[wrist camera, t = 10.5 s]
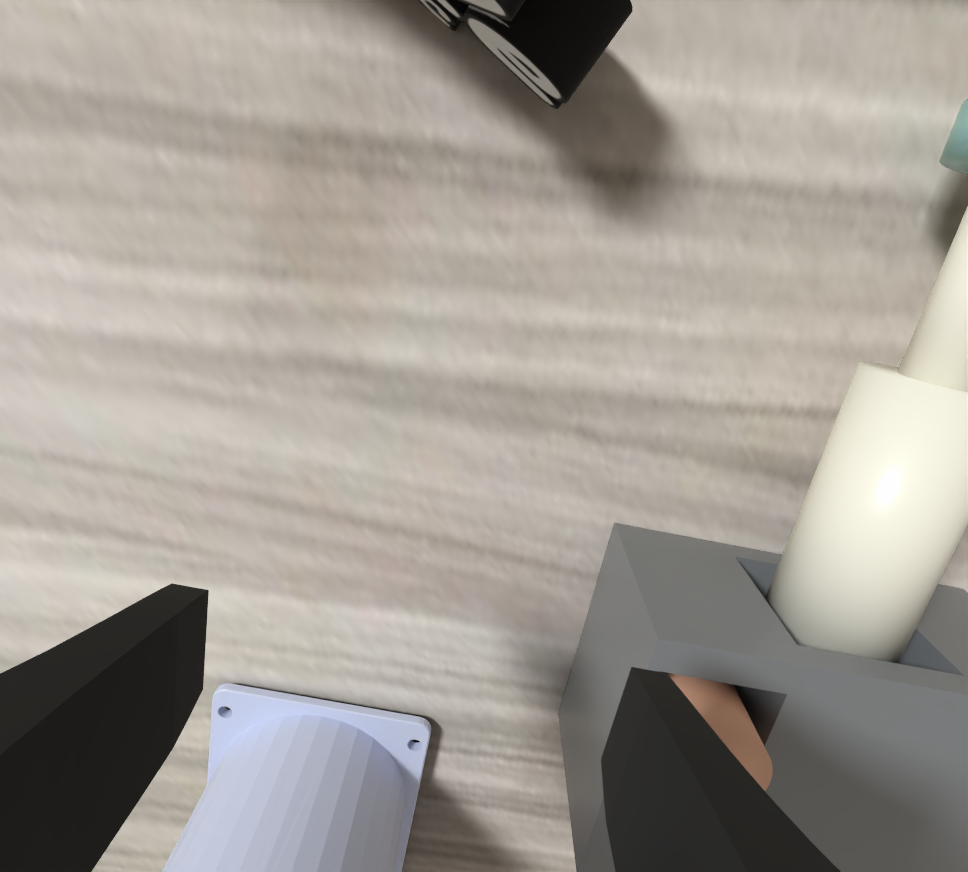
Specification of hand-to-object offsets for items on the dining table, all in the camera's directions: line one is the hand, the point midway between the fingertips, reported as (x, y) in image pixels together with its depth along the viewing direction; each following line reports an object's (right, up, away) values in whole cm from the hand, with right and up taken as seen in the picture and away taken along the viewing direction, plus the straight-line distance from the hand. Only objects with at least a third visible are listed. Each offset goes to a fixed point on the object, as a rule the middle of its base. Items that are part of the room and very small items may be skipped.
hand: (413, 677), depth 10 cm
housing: (+11, -4, +11) cm, 16 cm away
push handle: (+12, +5, +7) cm, 15 cm away
